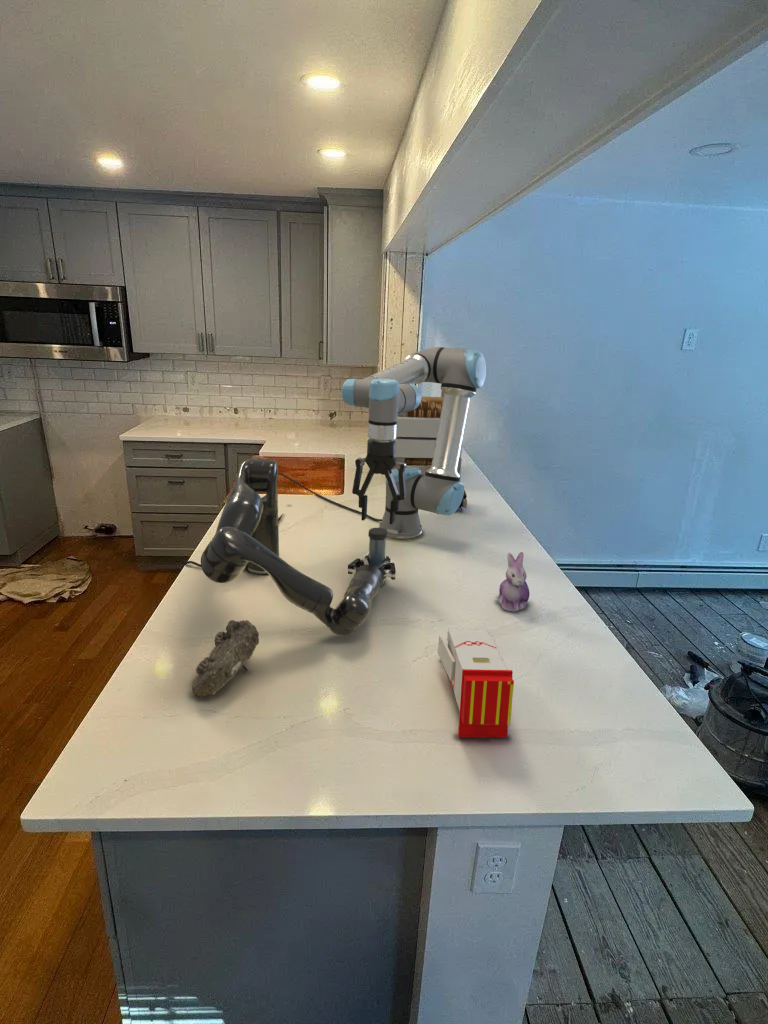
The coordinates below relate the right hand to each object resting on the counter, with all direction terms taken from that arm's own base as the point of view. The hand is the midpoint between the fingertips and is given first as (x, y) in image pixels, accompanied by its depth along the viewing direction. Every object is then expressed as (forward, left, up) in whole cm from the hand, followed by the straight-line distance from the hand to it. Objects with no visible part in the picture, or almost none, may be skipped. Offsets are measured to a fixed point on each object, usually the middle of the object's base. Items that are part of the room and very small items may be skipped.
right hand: (377, 520), depth 157 cm
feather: (-61, +5, -19) cm, 64 cm away
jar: (0, 0, -19) cm, 19 cm away
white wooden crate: (-77, +92, -19) cm, 121 cm away
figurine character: (-32, +69, -19) cm, 79 cm away
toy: (+50, -16, -19) cm, 56 cm away
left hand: (-2, +2, -13) cm, 13 cm away
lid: (0, 0, -4) cm, 4 cm away
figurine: (+32, +22, -19) cm, 44 cm away
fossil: (+13, -52, -19) cm, 57 cm away
